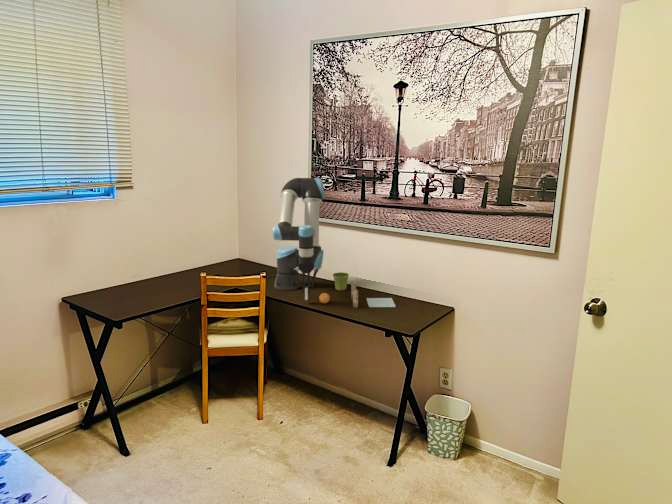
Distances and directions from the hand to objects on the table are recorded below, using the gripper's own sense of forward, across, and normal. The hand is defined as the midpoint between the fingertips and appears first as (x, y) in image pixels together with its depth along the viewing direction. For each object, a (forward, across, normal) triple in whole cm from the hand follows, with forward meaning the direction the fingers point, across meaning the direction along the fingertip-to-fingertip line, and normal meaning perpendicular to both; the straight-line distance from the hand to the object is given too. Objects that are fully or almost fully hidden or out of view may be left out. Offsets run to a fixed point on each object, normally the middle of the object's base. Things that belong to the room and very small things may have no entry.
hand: (306, 299), depth 262 cm
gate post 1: (+2, +26, +6) cm, 26 cm away
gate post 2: (+2, +26, -6) cm, 26 cm away
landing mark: (+2, +40, 0) cm, 40 cm away
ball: (0, +10, 0) cm, 10 cm away
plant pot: (+2, +20, +24) cm, 31 cm away
